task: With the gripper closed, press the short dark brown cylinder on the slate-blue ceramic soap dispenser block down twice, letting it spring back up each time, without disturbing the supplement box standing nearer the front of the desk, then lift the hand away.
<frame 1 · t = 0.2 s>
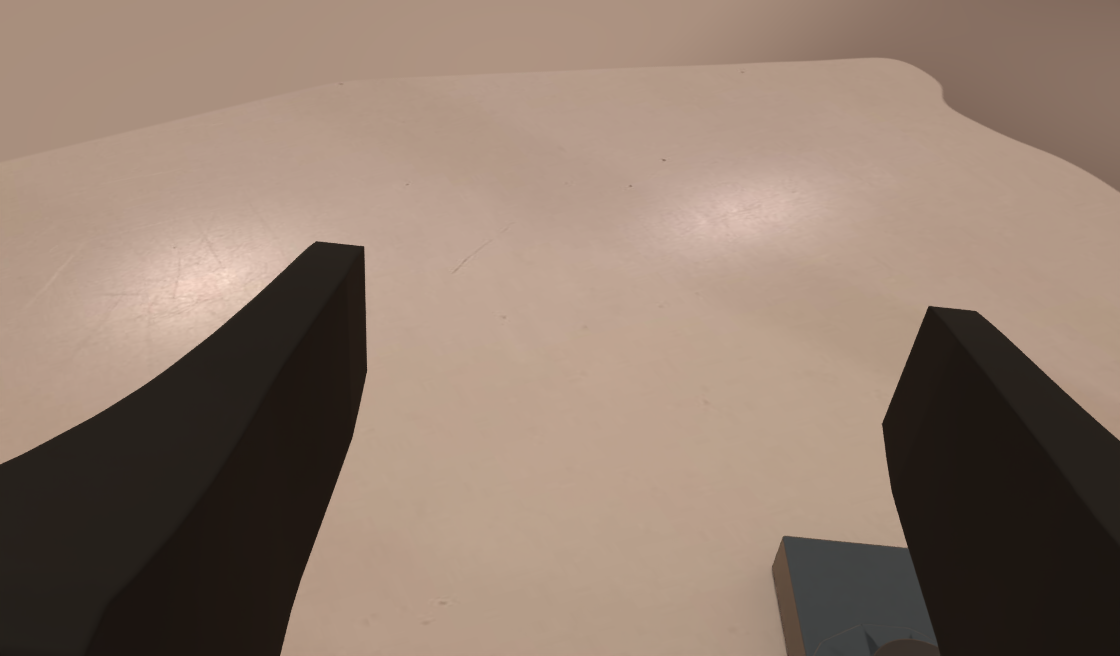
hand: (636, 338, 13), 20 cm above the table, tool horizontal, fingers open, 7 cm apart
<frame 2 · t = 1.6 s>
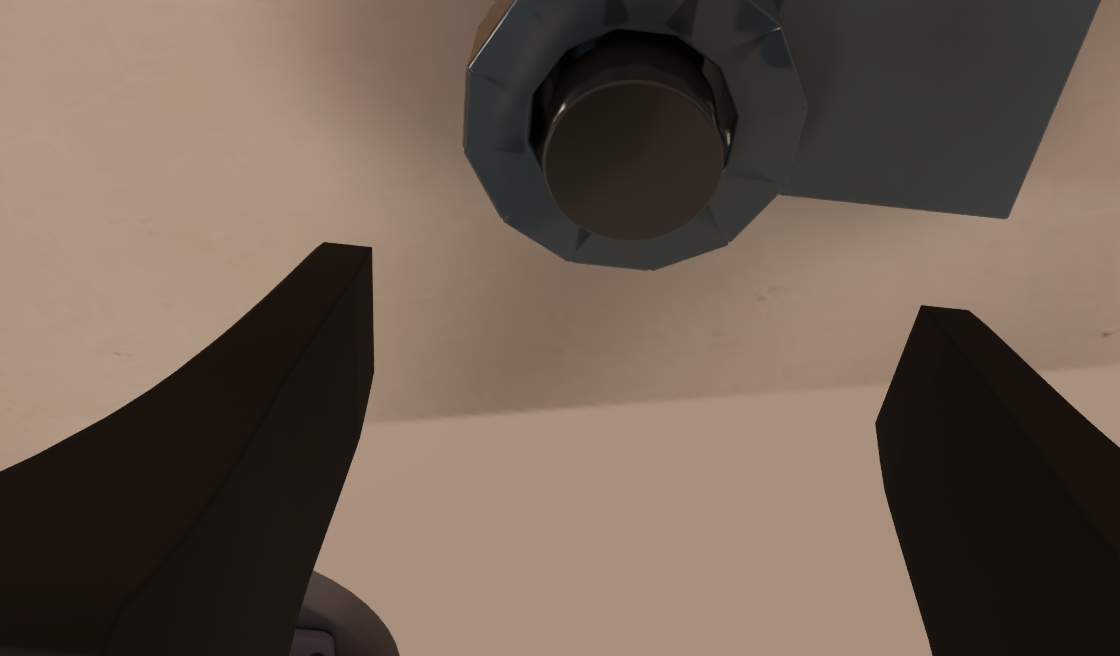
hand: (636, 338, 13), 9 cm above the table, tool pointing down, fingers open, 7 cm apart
dark brown short cylinder: (632, 141, 18), point 4 cm above the table, slide at 0.1 cm
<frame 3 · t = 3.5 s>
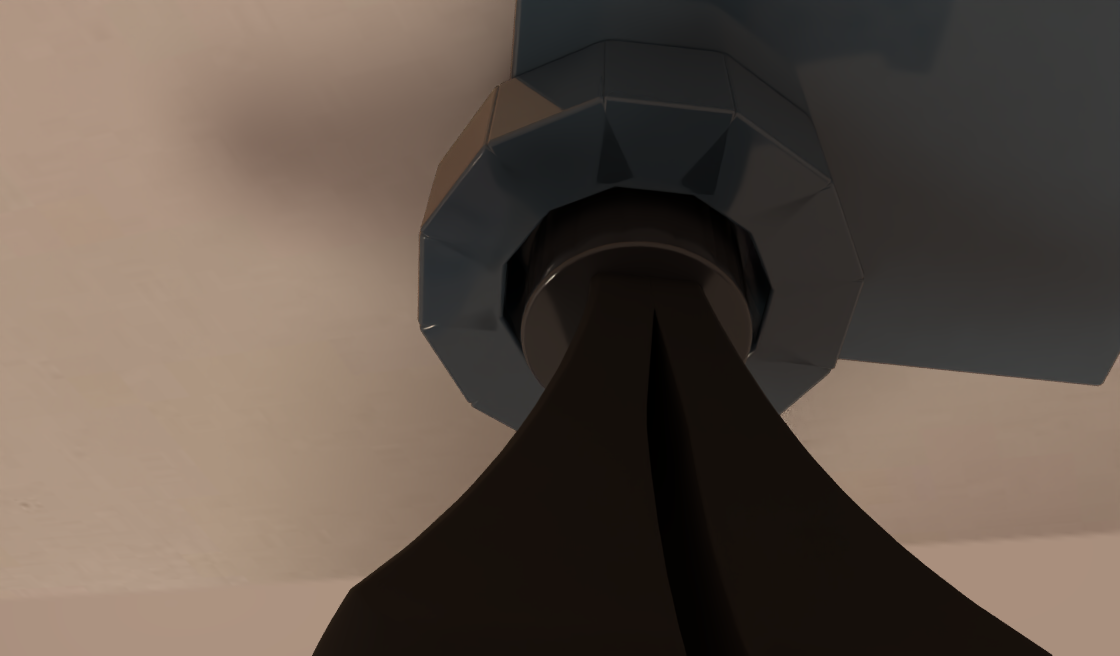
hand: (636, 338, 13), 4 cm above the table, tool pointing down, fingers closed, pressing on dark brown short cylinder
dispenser: (865, 18, 15), on the table
dark brown short cylinder: (634, 301, 14), point 3 cm above the table, slide at -0.5 cm, touching gripper
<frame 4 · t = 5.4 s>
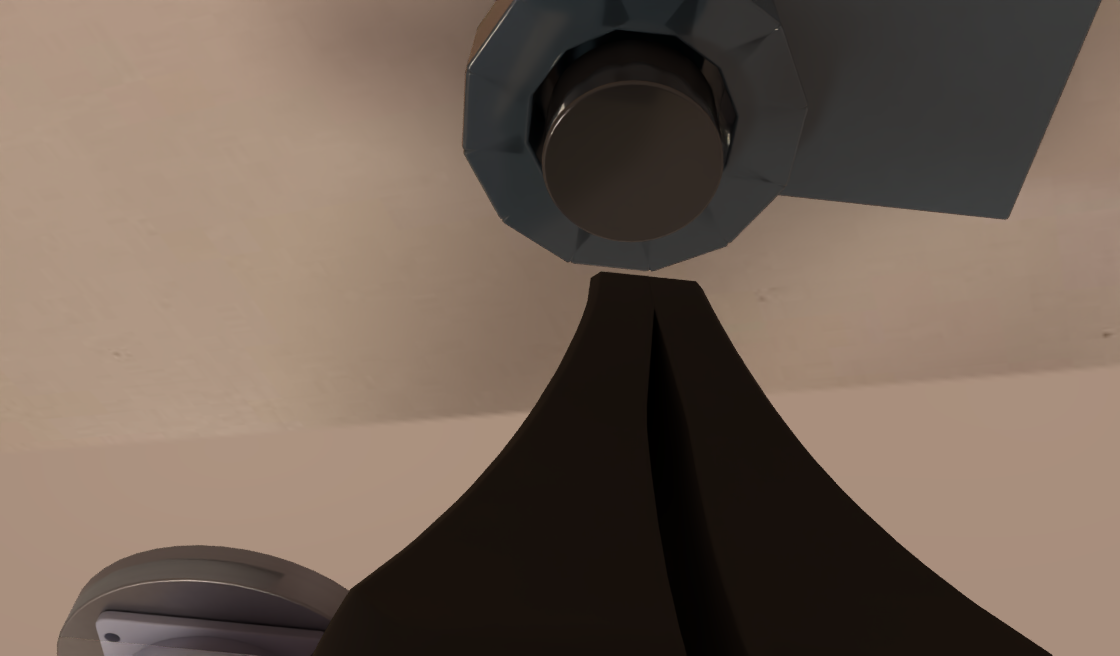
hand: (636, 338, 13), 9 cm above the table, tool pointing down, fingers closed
dark brown short cylinder: (631, 142, 18), point 4 cm above the table, slide at 0.1 cm
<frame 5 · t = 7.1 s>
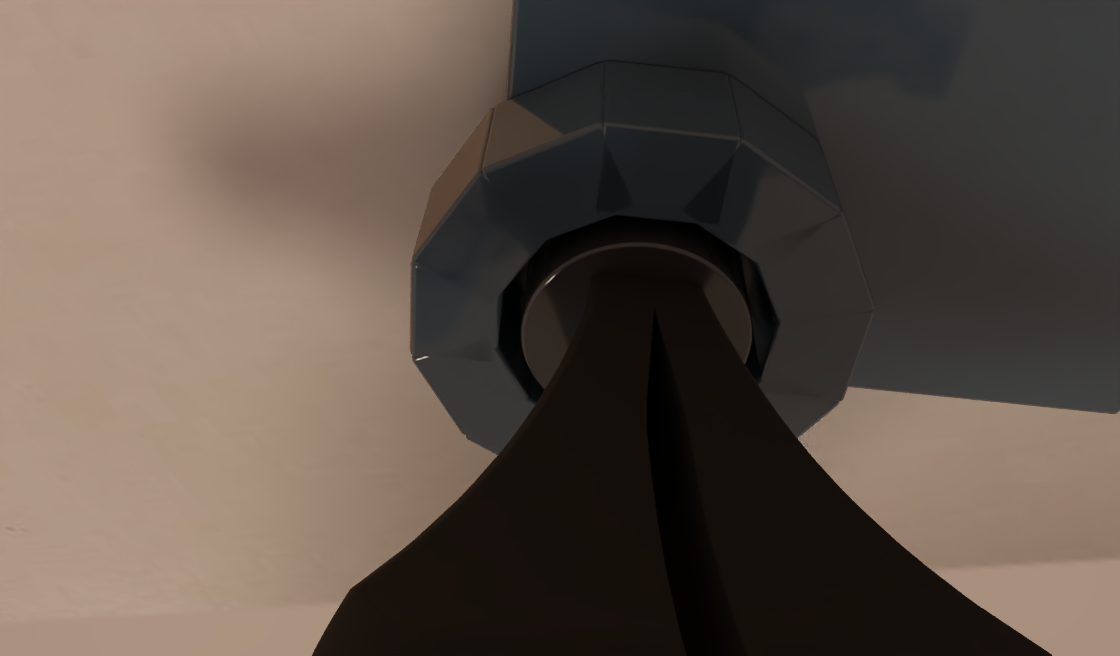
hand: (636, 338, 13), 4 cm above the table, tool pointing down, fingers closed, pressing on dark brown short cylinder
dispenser: (874, 36, 14), on the table
dark brown short cylinder: (634, 301, 14), point 3 cm above the table, slide at -1.1 cm, touching gripper
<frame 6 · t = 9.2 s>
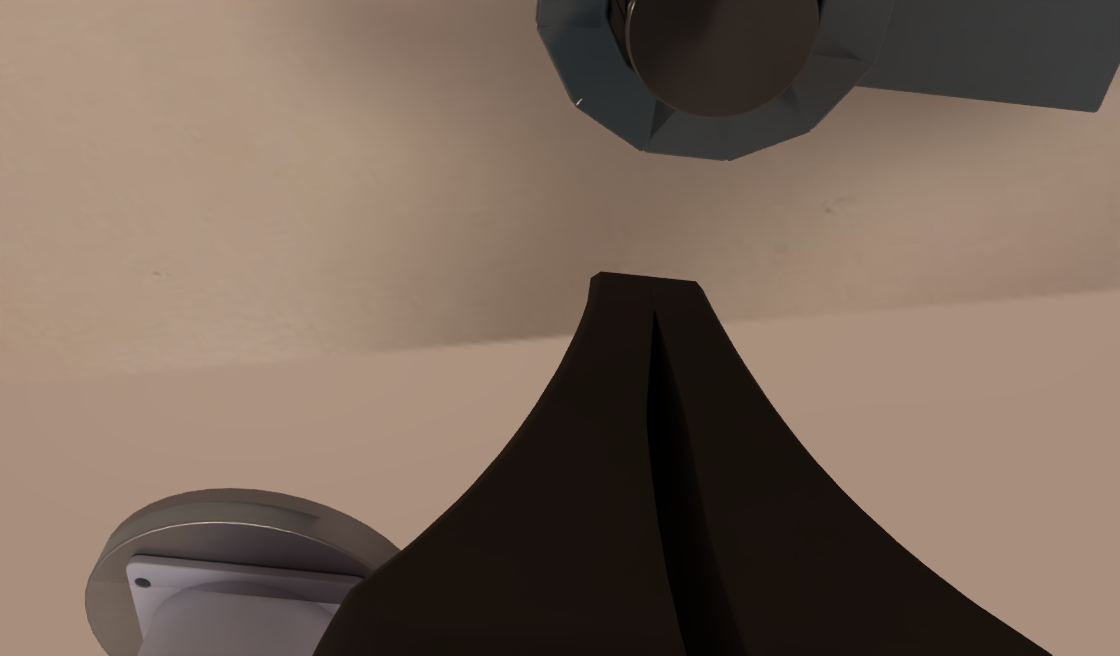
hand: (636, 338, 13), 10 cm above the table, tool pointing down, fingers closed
dark brown short cylinder: (717, 11, 17), point 4 cm above the table, slide at 0.1 cm
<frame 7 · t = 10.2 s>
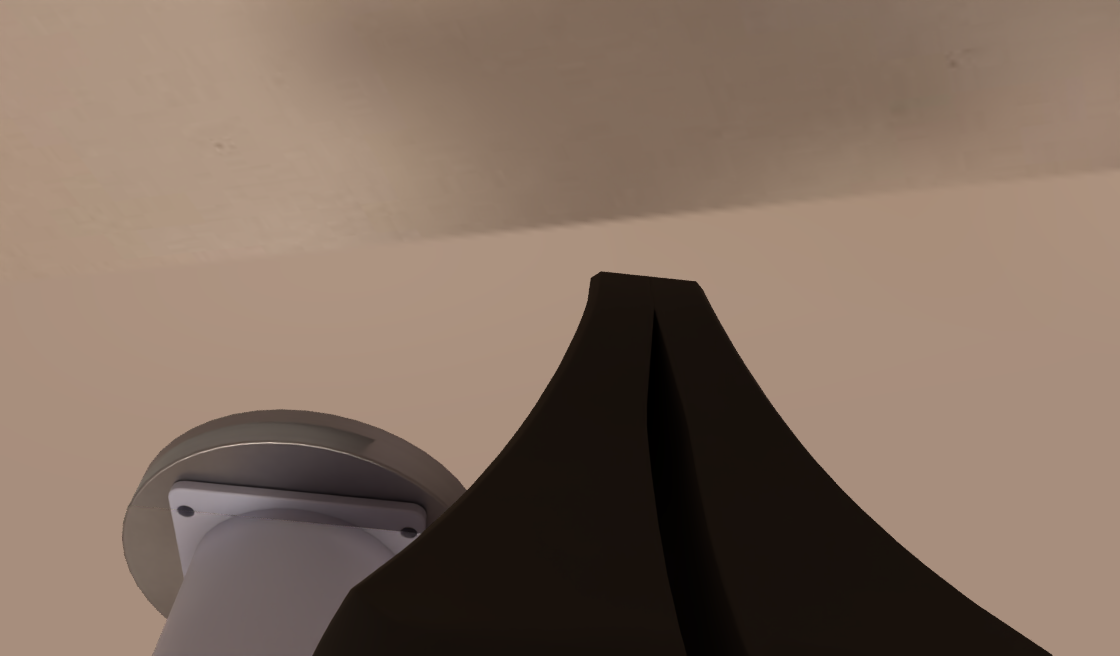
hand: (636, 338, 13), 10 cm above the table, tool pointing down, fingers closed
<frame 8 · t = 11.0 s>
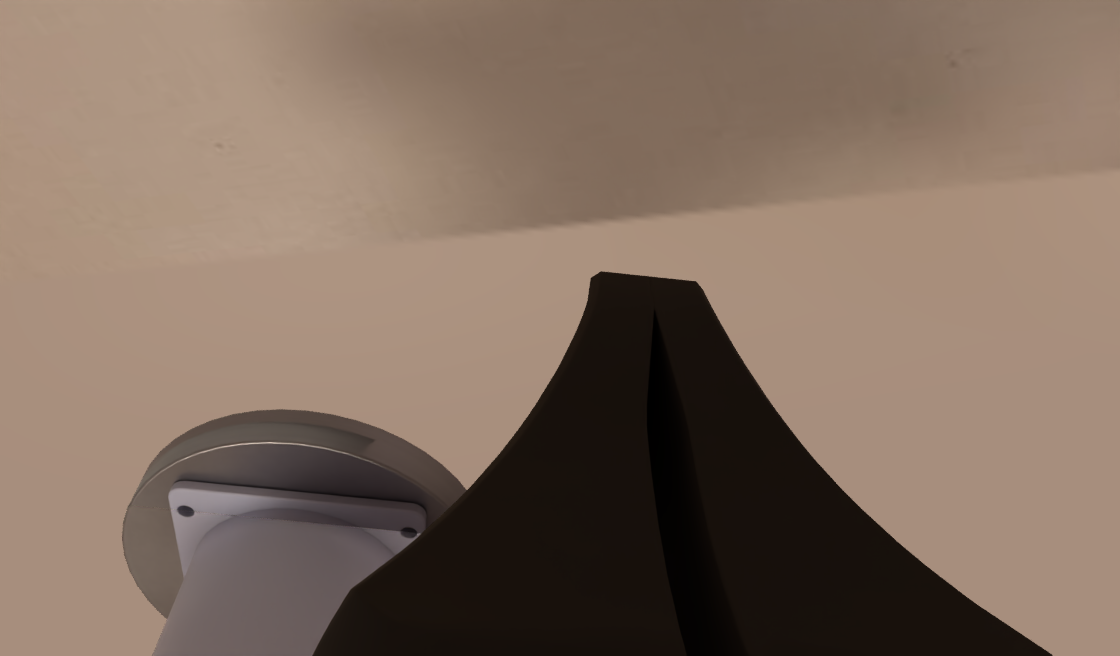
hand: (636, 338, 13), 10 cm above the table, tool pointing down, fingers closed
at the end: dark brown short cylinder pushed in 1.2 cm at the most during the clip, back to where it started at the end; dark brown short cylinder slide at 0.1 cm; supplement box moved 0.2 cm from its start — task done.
